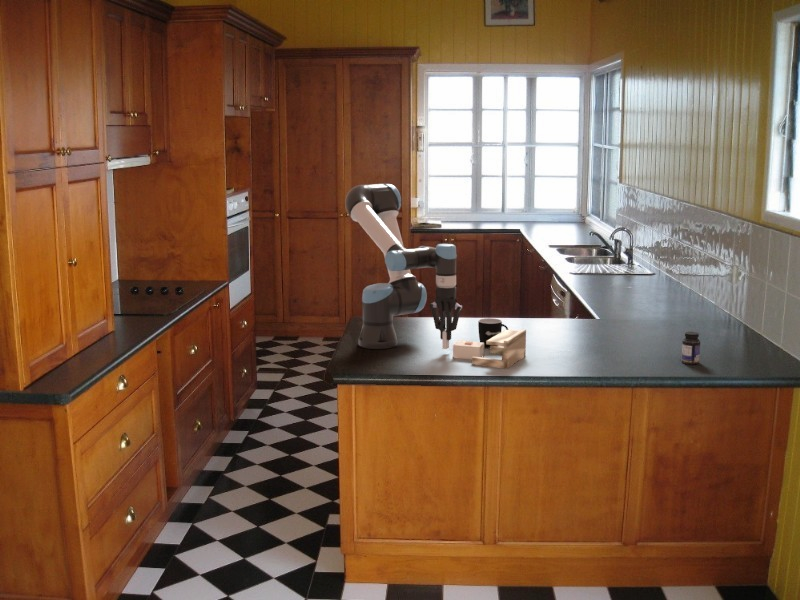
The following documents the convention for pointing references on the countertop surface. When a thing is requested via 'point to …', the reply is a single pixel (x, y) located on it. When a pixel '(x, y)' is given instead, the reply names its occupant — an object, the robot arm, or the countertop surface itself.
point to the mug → (489, 329)
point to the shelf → (505, 349)
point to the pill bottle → (691, 348)
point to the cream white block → (468, 349)
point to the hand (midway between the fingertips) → (445, 348)
